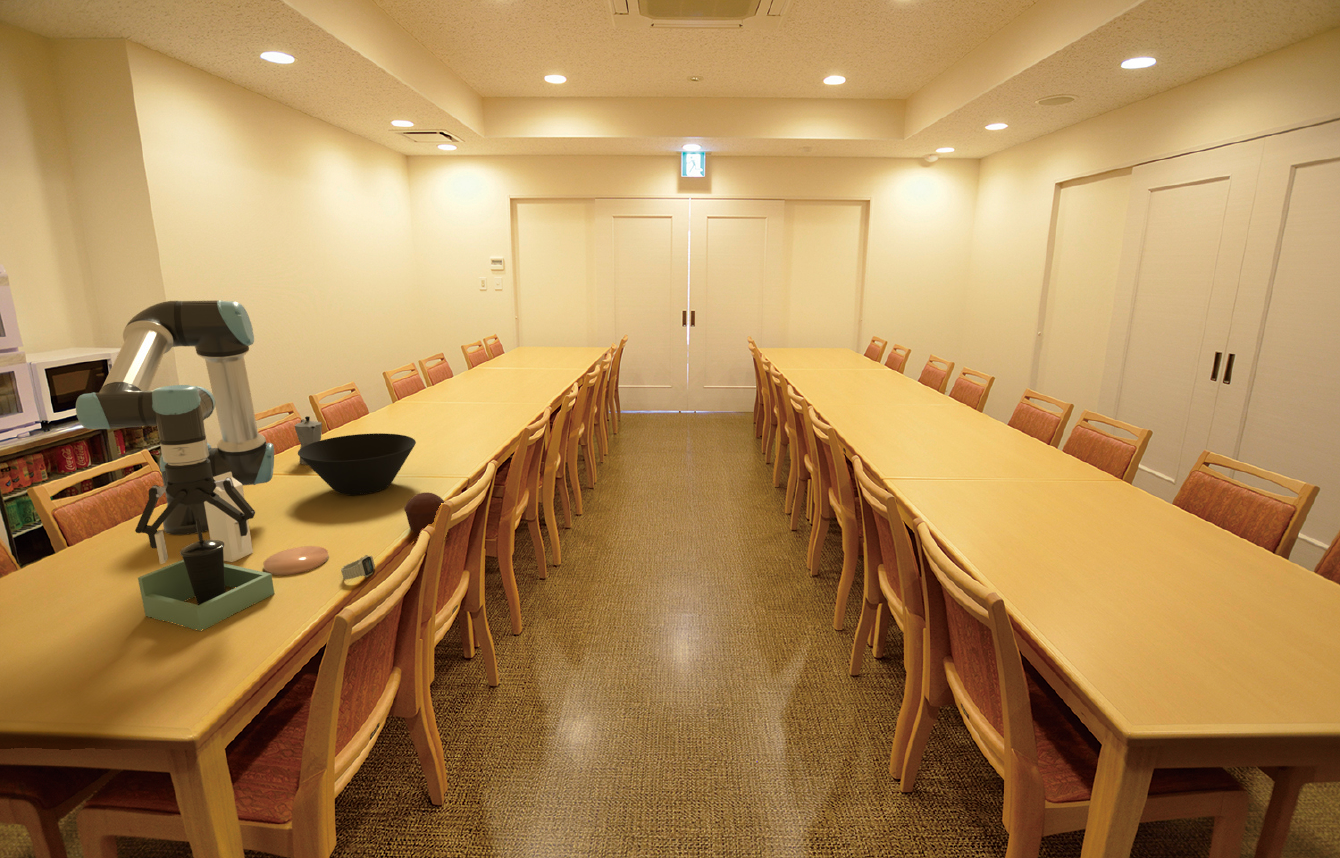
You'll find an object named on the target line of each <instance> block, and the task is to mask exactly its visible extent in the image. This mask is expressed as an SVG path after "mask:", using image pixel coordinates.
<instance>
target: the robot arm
mask: <svg viewBox="0 0 1340 858" xmlns="http://www.w3.org/2000/svg"><path fill="white" fill-rule="evenodd" d="M253 330H254V329H253V325H252V322H251V319H250V317H249V314H248V312H247V310H246V308H245V306H244V305H242V304H241V303H240V302H238V301H228V300H227V301H226V300H220V299H219V300H169V301H168V300H167V301H163V302H159V303H156V304H153V305H150V306H149V307H147V308H145V309H143V310H142V311H140V312H138V313H137V314H136V315H134V316H132V318H131V319H130V320H129V321H128V322H127V324H126V326H125V327H124V329H123V332H122V339H123V341H124V342H123V343H122V346H121V348H120V349H119V353H118V354H117V356H116V358H115V360H114V363H113V364H112V366H111V368H110V370H109V372H108V375H107V376H106V379H105V381H104V383H103V385H102V386H101V388H100V390H99V392H91V393H90V392H89V393H83V394H81V395H79V396H78V397H77V399H76V402H75V413H76V418H77V419H78V422H79V424H80V425H81V426H82V427H83V428H85V429H88V430H111V429H112V430H113V429H125V428H138V427H140V428H141V427H155V426H157V427H156V428H157V432H158V437H159V442H160V443H159V445H160V451H161V455H160V456H159V464H160V469H159V471H160V472H161V473H160V474H161V478H162V483H163V486H159V485H158V484H153V485H152V486H151V487H150V488H149V490H148V500H147V503H146V505H145V507H144V510H143V511H142V514H141V516H140V519H139V521H138V523H137V526H136V528H135V530H134V531H135V533H136V534H147V536H148V540H149V545H150V548H151V549H156V551H157V555H158V561H159V565H162V564H163V565H164V564H166V562H167V560H169V556H168V551H167V545H166V540H165V535H164V533H165V534H168V535H173V536H182V535H183V536H184V535H193V534H198V531H197V525H196V519H200V525H201V531H202V533H204V532H209V528H208V522H207V516H206V510H205V505H204V502H205V501H207V502H208V503H210V504H212V505H214V506H216V507H217V508H219V509H220V510H221V511H223V512H224V513H226V514H227V515H229V516H230V517H232V518H233V519H234V520H236V522H235V524H234V527H235V534H236V540H237V546H238V552H243V550H244V547H245V546H244V540H243V536H246V535H247V532H248V529H247V522H246V521H247V520H248V521H249V520H252V519H254V516H255V514H256V511H255V509H253V507H252V506H251V505H250V503H249V502H248V501H247V500H246V499H244V498H245V497H244V498H243V497H242V495H241V494H240V493H239V492H238V491H237V490H236V488H235V487H234V485H233V482H232V479H231V478H229V477H227V478H226V479H225V480H220V481H215V480H214V479H213V477H215V476H218V475H221V474H224V473H227V472H232V477H233V478H234V479H236V480H237V481H239V482H240V483H241V484H242V485H243V487H244V486H256V485H259V484H265V483H268V482H270V481H271V480H272V479H273V476H274V469H275V467H274V466H275V447H274V444H273V443H271V442H267V440H266V437H265V436H264V435H263V434H261V433H259V430H258V425H257V419H256V414H255V410H254V404H253V398H252V393H251V389H250V383H249V377H248V372H247V367H246V366H247V365H246V362H245V355H246V354H248V352H249V351H250V347H249V346H252V345H254V342H255V335H254V331H253ZM176 347H194V348H195V353H196V355H197V356H198V357H200V358H202V359H204V361H205V365H206V370H207V374H208V379H209V383H210V389H211V391H210V390H208V389H206V388H205V387H203V386H199V385H190V384H188V385H187V384H177V385H167V386H161V387H157V388H155V389H153V390H150V389H151V386H152V384H153V381H154V378H155V376H156V374H157V372H158V368H159V367H160V364H161V361H162V359H163V357H164V355H165V354H167V353H168V352H170V351H171V350H172V348H176ZM214 410H215V411H216V416H217V420H218V426H219V430H220V434H221V439H220V440H219V441H218V442H217V443H216V445H217V447H213V448H212V445H211V444H210V443H209V442H208V441H207V435H206V431H205V422H204V421H205V420H206V419H208V418H210V417H211V416H212V414H213V412H214ZM216 487H220V488H221V489H222V490H225V491H226V493H227V494H228V496H229V497H230V498H231V499H232V500H233V501H234V503H235V504H236V505H237V506H238V507H239V508H240V510H241V511H242V512H243V513H244V514H243V513H242V512H241V511H239V510H238V509H236V508H235V507H233V506H232V505H231V504H229V503H228V502H226V501H225V500H223V499H222V498H221V497H219V495H218V494H216V493H215V492H213V491H214V490H215V488H216ZM164 493H165V498H166V508H165V509H164V510H163V511H162V512H161V514H160V515H159V516H158V518H156V520H155V521H154V522H153V523H152V524H151V525H149V522H150V519H151V516H152V515H153V512H154V510H155V509H156V505H157V503H158V501H159V498H161V497H162V496H163V495H164ZM161 525H162V526H163V529H159V528H160V526H161Z"/></svg>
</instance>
